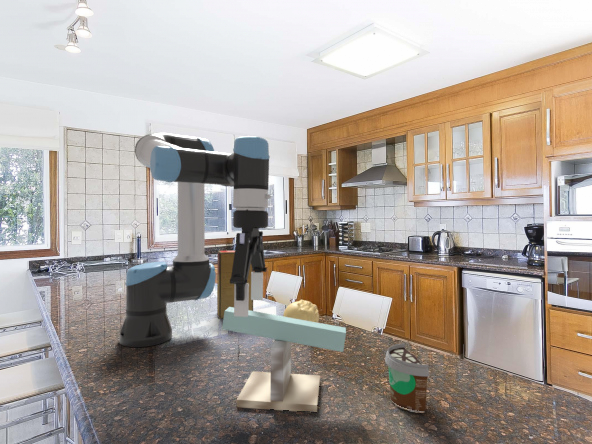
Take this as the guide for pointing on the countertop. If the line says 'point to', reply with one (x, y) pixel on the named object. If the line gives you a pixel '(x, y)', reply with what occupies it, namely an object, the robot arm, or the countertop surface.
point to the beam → (286, 329)
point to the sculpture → (302, 311)
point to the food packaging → (227, 283)
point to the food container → (407, 378)
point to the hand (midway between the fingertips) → (249, 307)
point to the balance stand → (280, 385)
